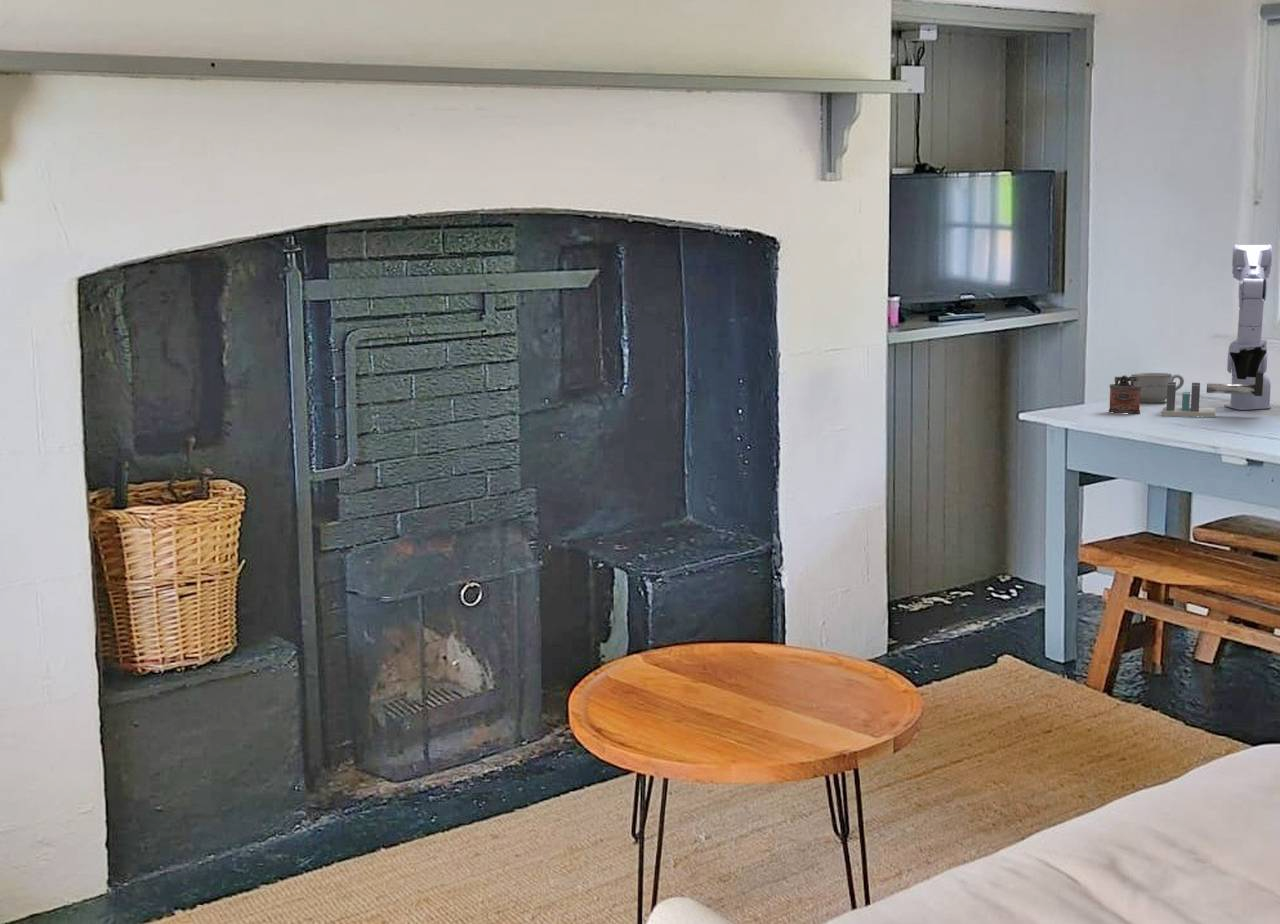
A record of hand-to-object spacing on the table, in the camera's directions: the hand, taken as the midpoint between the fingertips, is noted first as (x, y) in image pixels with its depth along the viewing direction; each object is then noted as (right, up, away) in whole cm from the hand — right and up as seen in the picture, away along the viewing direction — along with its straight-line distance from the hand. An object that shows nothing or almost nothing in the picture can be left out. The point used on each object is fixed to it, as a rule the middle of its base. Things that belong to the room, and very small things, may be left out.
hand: (1246, 378), depth 402 cm
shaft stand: (-13, -9, +8) cm, 18 cm away
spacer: (-13, -8, +8) cm, 17 cm away
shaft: (-2, -4, +4) cm, 6 cm away
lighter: (-28, -9, +12) cm, 32 cm away
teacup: (-13, -5, +30) cm, 34 cm away
